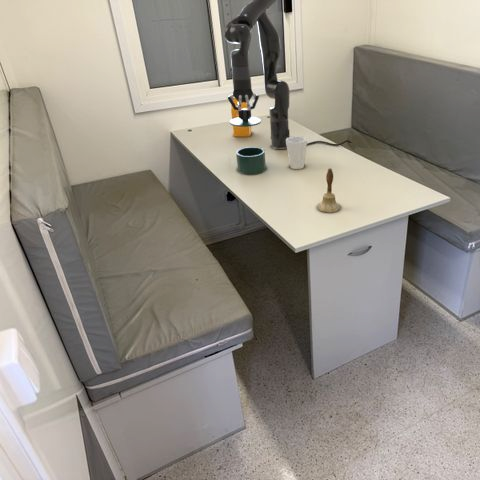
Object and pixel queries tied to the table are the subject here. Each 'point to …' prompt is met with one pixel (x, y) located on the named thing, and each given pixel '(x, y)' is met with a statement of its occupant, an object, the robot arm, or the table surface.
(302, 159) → the foam cup
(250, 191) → the table surface
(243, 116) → the lid
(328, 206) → the hand bell
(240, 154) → the tin
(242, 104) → the orange juice
